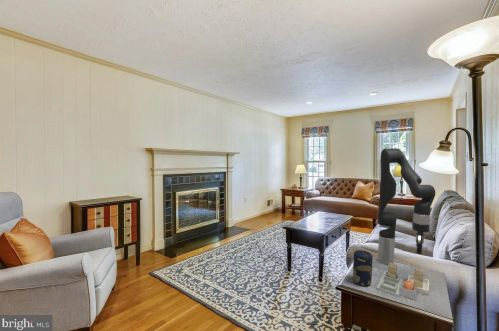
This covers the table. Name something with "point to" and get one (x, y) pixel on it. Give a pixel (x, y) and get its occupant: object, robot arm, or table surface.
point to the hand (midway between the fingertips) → (419, 253)
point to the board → (390, 284)
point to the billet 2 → (418, 278)
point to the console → (408, 292)
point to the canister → (362, 267)
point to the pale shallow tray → (424, 289)
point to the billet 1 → (392, 271)
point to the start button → (408, 285)
